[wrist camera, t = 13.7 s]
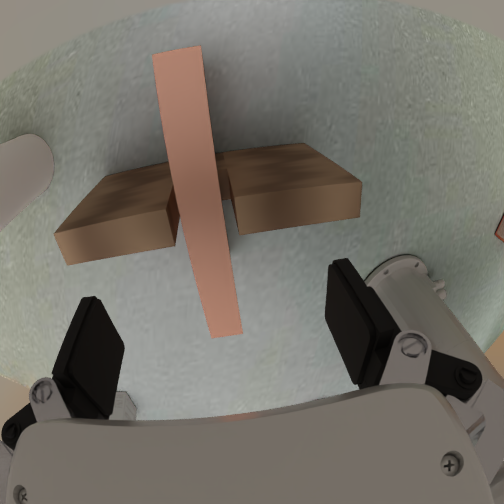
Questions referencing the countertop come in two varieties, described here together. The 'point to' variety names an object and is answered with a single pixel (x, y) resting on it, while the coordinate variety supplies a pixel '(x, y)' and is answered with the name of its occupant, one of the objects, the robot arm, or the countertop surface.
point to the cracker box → (500, 230)
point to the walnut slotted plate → (231, 187)
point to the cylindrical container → (23, 174)
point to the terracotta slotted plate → (197, 183)
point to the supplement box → (123, 408)
